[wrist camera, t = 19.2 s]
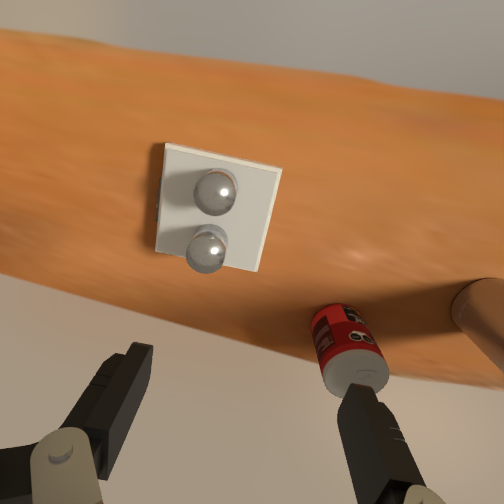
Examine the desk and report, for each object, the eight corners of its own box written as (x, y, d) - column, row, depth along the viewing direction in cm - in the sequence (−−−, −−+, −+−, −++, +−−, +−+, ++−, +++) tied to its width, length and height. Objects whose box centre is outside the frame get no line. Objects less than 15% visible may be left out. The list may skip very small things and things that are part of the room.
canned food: (368, 332, 48) (397, 389, 37) (320, 349, 49) (335, 408, 39) (353, 294, 45) (380, 343, 35) (302, 312, 46) (314, 365, 36)
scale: (281, 166, 38) (282, 170, 35) (257, 265, 43) (257, 274, 41) (165, 140, 37) (158, 142, 34) (156, 244, 43) (148, 252, 40)
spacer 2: (231, 229, 38) (228, 244, 34) (223, 259, 40) (219, 277, 35) (197, 219, 38) (190, 233, 33) (190, 250, 39) (182, 268, 35)
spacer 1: (241, 172, 36) (239, 179, 31) (234, 208, 37) (231, 220, 33) (204, 163, 35) (196, 169, 31) (199, 200, 37) (190, 211, 32)
